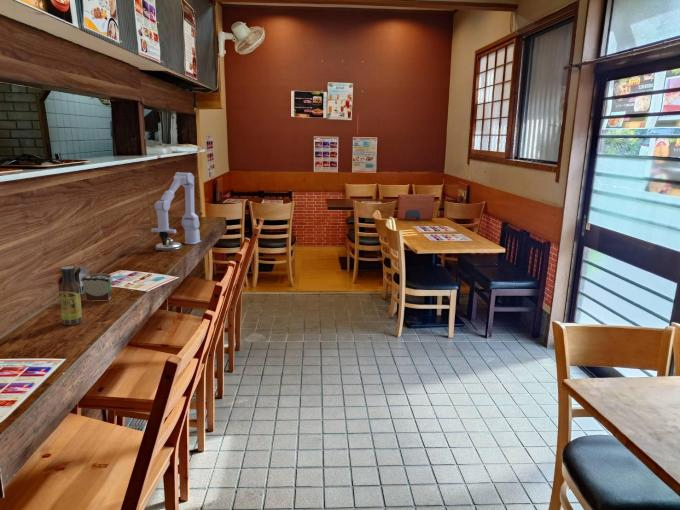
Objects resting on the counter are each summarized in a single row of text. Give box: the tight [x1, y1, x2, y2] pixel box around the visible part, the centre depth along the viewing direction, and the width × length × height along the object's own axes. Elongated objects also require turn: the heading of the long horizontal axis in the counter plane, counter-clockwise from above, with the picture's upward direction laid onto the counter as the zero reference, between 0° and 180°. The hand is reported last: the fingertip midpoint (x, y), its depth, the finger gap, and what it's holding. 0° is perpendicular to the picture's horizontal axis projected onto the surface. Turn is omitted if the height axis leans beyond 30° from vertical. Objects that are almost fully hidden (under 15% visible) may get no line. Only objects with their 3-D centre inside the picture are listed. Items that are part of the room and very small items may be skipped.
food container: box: [80, 272, 114, 301], centre depth 190 cm, size 12×6×10 cm, turn 84°
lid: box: [167, 237, 174, 245], centre depth 282 cm, size 5×5×4 cm
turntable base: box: [154, 244, 183, 252], centre depth 283 cm, size 15×15×1 cm
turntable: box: [155, 240, 182, 249], centre depth 282 cm, size 14×14×5 cm
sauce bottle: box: [58, 265, 83, 326], centre depth 163 cm, size 6×6×20 cm
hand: (164, 244), depth 276 cm, fingers closed, pressing on turntable
